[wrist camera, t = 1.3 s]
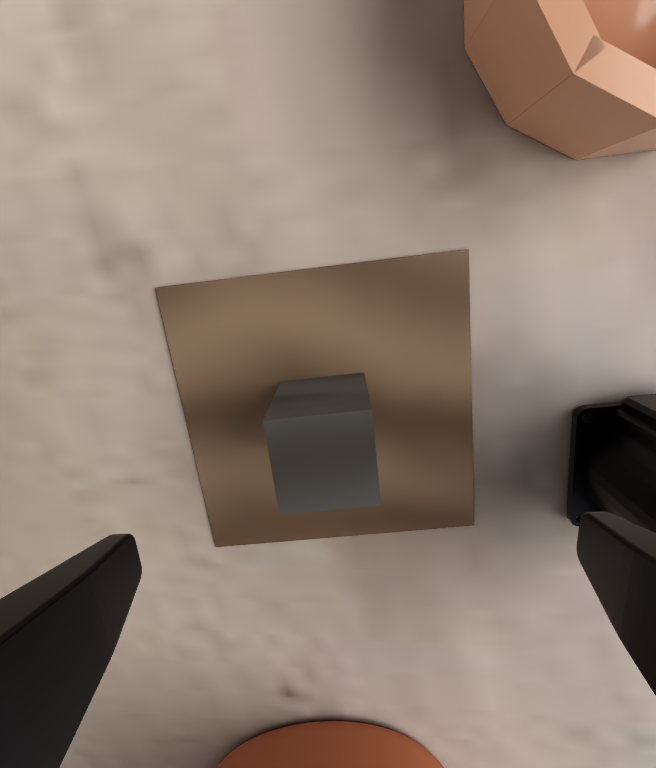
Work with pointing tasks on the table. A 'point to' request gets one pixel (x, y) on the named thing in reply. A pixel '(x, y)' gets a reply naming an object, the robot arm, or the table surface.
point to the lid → (328, 397)
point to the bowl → (569, 70)
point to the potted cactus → (330, 748)
